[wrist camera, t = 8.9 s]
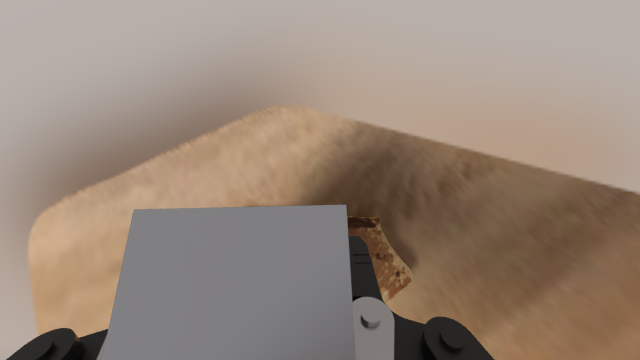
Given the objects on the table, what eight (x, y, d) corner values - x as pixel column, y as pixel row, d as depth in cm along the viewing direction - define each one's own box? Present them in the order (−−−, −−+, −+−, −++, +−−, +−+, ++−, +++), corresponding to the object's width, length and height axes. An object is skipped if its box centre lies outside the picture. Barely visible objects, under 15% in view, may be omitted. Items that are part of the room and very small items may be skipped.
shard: (238, 217, 18) (230, 213, 16) (318, 156, 20) (318, 147, 18) (334, 348, 16) (336, 359, 14) (416, 266, 17) (427, 267, 15)
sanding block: (327, 239, 15) (348, 202, 5) (330, 325, 13) (366, 487, 4) (250, 241, 15) (131, 207, 5) (245, 328, 13) (68, 502, 4)
